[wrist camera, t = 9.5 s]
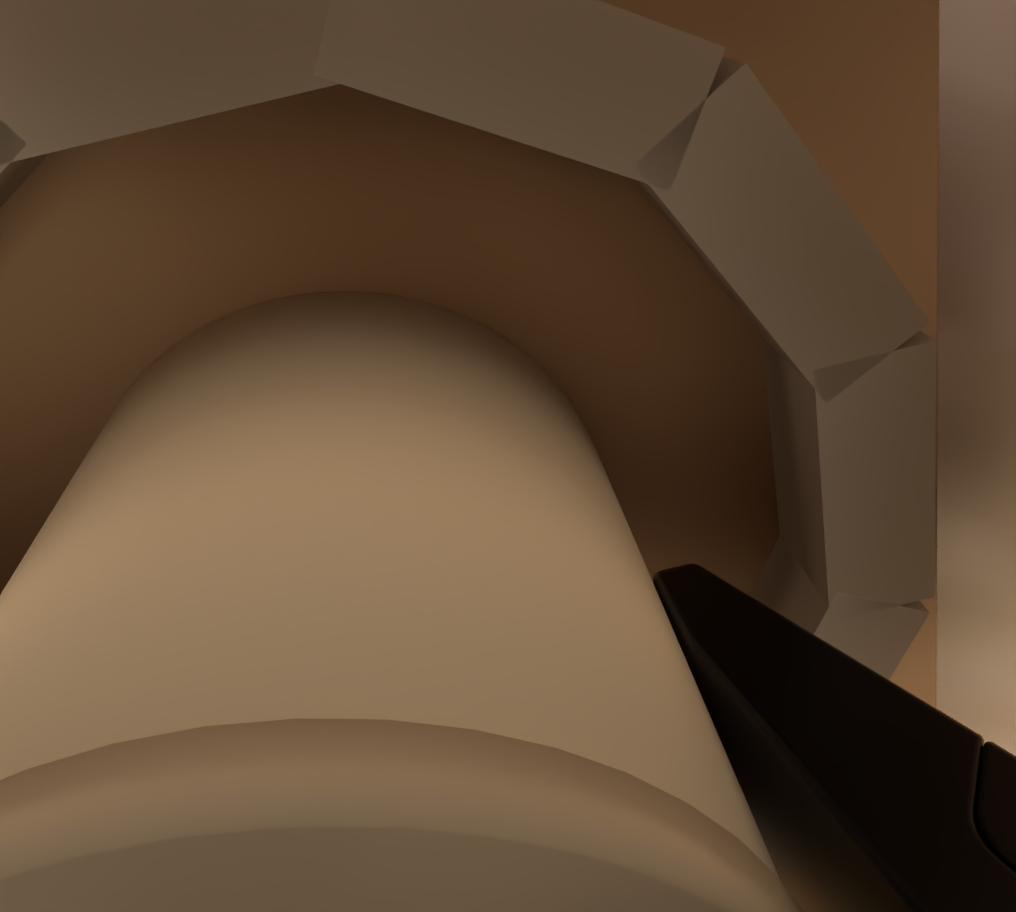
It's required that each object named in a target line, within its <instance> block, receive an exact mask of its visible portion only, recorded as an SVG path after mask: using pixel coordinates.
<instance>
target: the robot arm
mask: <svg viewBox="0 0 1016 912" xmlns="http://www.w3.org/2000/svg"><path fill="white" fill-rule="evenodd" d="M653 584H654V586H655V588H656V591H657V593H658V595H659V598H660V600H661V602H662V605H663V607H664V609H665V612H666V614H667V616H668V619H669V621H670V623H671V626H672V628H673V630H674V633H675V635H676V637H677V640H678V642H679V644H680V647H681V649H682V651H683V654H684V656H685V658H686V661H687V663H688V665H689V668H690V670H691V672H692V675H693V677H694V679H695V682H696V684H697V686H698V689H699V691H700V693H701V696H702V698H703V700H704V703H705V705H706V707H707V710H708V712H709V714H710V717H711V719H712V721H713V724H714V726H715V728H716V731H717V733H718V735H719V738H720V740H721V742H722V745H723V747H724V749H725V752H726V754H727V756H728V759H729V761H730V763H731V766H732V768H733V770H734V773H735V775H736V777H737V780H738V782H739V784H740V787H741V789H742V791H743V794H744V796H745V798H746V801H747V803H748V805H749V808H750V810H751V812H752V815H753V817H754V819H755V822H756V824H757V826H758V829H759V831H760V833H761V836H762V838H763V840H764V843H765V845H766V847H767V850H768V852H769V854H770V857H771V859H772V861H773V864H774V866H775V868H776V871H777V873H778V875H779V878H780V880H781V882H782V883H783V885H784V886H785V888H786V889H787V891H788V892H789V893H790V895H791V896H792V898H793V899H794V900H795V902H796V903H797V905H798V906H799V908H800V909H801V910H802V912H1016V756H1014V755H1013V754H1011V753H1009V752H1008V751H1006V750H1005V749H1003V748H1001V747H1000V746H998V745H996V744H995V743H993V742H986V743H985V744H984V740H983V738H982V736H980V735H979V734H977V733H976V732H974V731H972V730H971V729H969V728H967V727H966V726H964V725H962V724H961V723H959V722H958V721H956V720H954V719H953V718H951V717H949V716H948V715H946V714H944V713H943V712H941V711H939V710H938V709H936V708H934V707H933V706H931V705H929V704H928V703H926V702H924V701H923V700H921V699H920V698H918V697H916V696H915V695H913V694H911V693H910V692H908V691H906V690H905V689H903V688H901V687H900V686H898V685H896V684H895V683H893V682H891V681H890V680H888V679H886V678H885V677H883V676H881V675H880V674H878V673H877V672H875V671H873V670H872V669H870V668H868V667H867V666H865V665H863V664H862V663H860V662H858V661H857V660H855V659H853V658H852V657H850V656H848V655H847V654H845V653H843V652H842V651H840V650H839V649H837V648H835V647H834V646H832V645H830V644H829V643H827V642H825V641H824V640H822V639H820V638H819V637H817V636H815V635H814V634H812V633H810V632H809V631H807V630H805V629H804V628H802V627H801V626H799V625H797V624H796V623H794V622H792V621H791V620H789V619H787V618H786V617H784V616H782V615H781V614H779V613H777V612H776V611H774V610H772V609H771V608H769V607H767V606H766V605H764V604H763V603H761V602H759V601H758V600H756V599H754V598H753V597H751V596H749V595H748V594H746V593H744V592H743V591H741V590H739V589H738V588H736V587H734V586H733V585H731V584H729V583H728V582H726V581H724V580H723V579H721V578H720V577H718V576H716V575H715V574H713V573H711V572H710V571H708V570H706V569H705V568H703V567H701V566H700V565H697V564H693V563H690V564H686V565H681V566H677V567H673V568H669V569H665V570H661V571H658V572H656V573H655V574H654V577H653Z"/></svg>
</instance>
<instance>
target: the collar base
mask: <svg viewBox="0 0 1016 912" xmlns="http://www.w3.org/2000/svg"><path fill="white" fill-rule="evenodd" d="M938 71H939V0H0V595H1V593H2V591H3V590H4V588H5V586H6V585H7V583H8V582H9V580H10V578H11V577H12V575H13V573H14V572H15V570H16V569H17V567H18V565H19V564H20V562H21V560H22V559H23V557H24V556H25V554H26V552H27V551H28V549H29V547H30V546H31V544H32V543H33V541H34V539H35V538H36V536H37V534H38V533H39V531H40V530H41V528H42V526H43V525H44V523H45V521H46V520H47V518H48V517H49V515H50V513H51V512H52V510H53V509H54V507H55V505H56V504H57V502H58V500H59V499H60V497H61V496H62V494H63V492H64V491H65V489H66V487H67V486H68V484H69V483H70V481H71V479H72V478H73V476H74V474H75V473H76V471H77V470H78V468H79V466H80V465H81V463H82V461H83V460H84V458H85V457H86V455H87V453H88V452H89V450H90V448H91V447H92V445H93V444H94V442H95V440H96V439H97V437H98V435H99V434H100V432H101V431H102V429H103V427H104V426H105V424H106V422H107V421H108V419H109V418H110V416H111V414H112V413H113V411H114V410H115V408H116V406H117V405H118V403H119V401H120V400H121V398H122V397H123V395H124V394H125V393H126V391H127V390H128V389H129V388H130V387H131V386H132V384H133V383H134V382H135V381H136V380H137V379H138V377H139V376H140V375H141V374H142V373H143V372H144V370H145V369H146V368H147V367H149V366H150V365H151V364H152V363H153V362H154V361H156V360H157V359H158V358H159V357H160V356H161V355H162V354H164V353H165V352H166V351H167V350H168V349H169V348H171V347H172V346H173V345H175V344H176V343H178V342H179V341H181V340H182V339H184V338H185V337H187V336H189V335H190V334H192V333H193V332H195V331H196V330H198V329H199V328H201V327H203V326H205V325H207V324H209V323H211V322H213V321H215V320H218V319H220V318H222V317H224V316H226V315H228V314H231V313H233V312H235V311H237V310H240V309H244V308H247V307H250V306H253V305H256V304H260V303H263V302H266V301H269V300H273V299H278V298H284V297H289V296H295V295H301V294H307V293H317V292H339V291H356V292H368V293H381V294H390V295H395V296H399V297H404V298H409V299H414V300H419V301H424V302H427V303H430V304H433V305H436V306H439V307H442V308H444V309H447V310H450V311H453V312H456V313H459V314H461V315H463V316H465V317H467V318H469V319H471V320H473V321H475V322H478V323H480V324H482V325H484V326H486V327H488V328H490V329H492V330H493V331H495V332H496V333H498V334H499V335H501V336H502V337H504V338H505V339H507V340H508V341H510V342H511V343H513V344H514V345H516V346H517V347H519V348H520V349H522V350H523V351H524V352H525V353H526V354H527V355H528V356H529V357H531V358H532V359H533V360H534V361H535V362H536V363H537V364H538V365H540V366H541V367H542V368H543V369H544V370H545V371H546V372H547V373H548V374H549V375H550V376H551V377H552V379H553V380H554V381H555V382H556V383H557V385H558V386H559V387H560V388H561V389H562V390H563V392H564V393H565V394H566V395H567V396H568V398H569V399H570V401H571V403H572V404H573V406H574V407H575V409H576V411H577V412H578V414H579V415H580V417H581V419H582V420H583V422H584V423H585V426H586V428H587V430H588V432H589V435H590V437H591V439H592V442H593V444H594V446H595V448H596V451H597V453H598V455H599V458H600V460H601V462H602V465H603V467H604V469H605V472H606V474H607V476H608V479H609V481H610V483H611V486H612V488H613V490H614V493H615V495H616V497H617V500H618V502H619V504H620V507H621V509H622V511H623V514H624V516H625V518H626V521H627V523H628V525H629V528H630V530H631V532H632V535H633V537H634V539H635V542H636V544H637V546H638V549H639V551H640V553H641V556H642V558H643V560H644V563H645V565H646V567H647V570H648V572H649V574H650V577H651V579H652V581H653V577H654V574H655V573H656V572H658V571H661V570H665V569H669V568H673V567H677V566H681V565H686V564H690V563H693V564H697V565H700V566H701V567H703V568H705V569H706V570H708V571H710V572H711V573H713V574H715V575H716V576H718V577H720V578H721V579H723V580H724V581H726V582H728V583H729V584H731V585H733V586H734V587H736V588H738V589H739V590H741V591H743V592H744V593H746V594H748V595H749V596H751V597H753V598H754V599H756V600H758V601H759V602H761V603H763V604H764V605H766V606H767V607H769V608H771V609H772V610H774V611H776V612H777V613H779V614H781V615H782V616H784V617H786V618H787V619H789V620H791V621H792V622H794V623H796V624H797V625H799V626H801V627H802V628H804V629H805V630H807V631H809V632H810V633H812V634H814V635H815V636H817V637H819V638H820V639H822V640H824V641H825V642H827V643H829V644H830V645H832V646H834V647H835V648H837V649H839V650H840V651H842V652H843V653H845V654H847V655H848V656H850V657H852V658H853V659H855V660H857V661H858V662H860V663H862V664H863V665H865V666H867V667H868V668H870V669H872V670H873V671H875V672H877V673H878V674H880V675H881V676H883V677H885V678H886V679H888V680H890V681H891V682H893V683H895V684H896V685H898V686H900V687H901V688H903V689H905V690H906V691H908V692H910V693H911V694H913V695H915V696H916V697H918V698H920V699H921V700H923V701H924V702H926V703H928V704H929V705H931V706H933V707H934V708H936V610H937V341H938Z"/></svg>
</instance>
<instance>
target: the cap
mask: <svg viewBox="0 0 1016 912" xmlns="http://www.w3.org/2000/svg"><path fill="white" fill-rule="evenodd" d="M0 912H802V910H801V909H800V908H799V906H798V905H797V903H796V902H795V900H794V899H793V898H792V896H791V895H790V893H789V892H788V891H787V889H786V888H785V886H784V885H783V883H782V882H781V880H780V878H779V875H778V873H777V871H776V868H775V866H774V864H773V861H772V859H771V857H770V854H769V852H768V850H767V847H766V845H765V843H764V840H763V838H762V836H761V833H760V831H759V829H758V826H757V824H756V822H755V819H754V817H753V815H752V812H751V810H750V808H749V805H748V803H747V801H746V798H745V796H744V794H743V791H742V789H741V787H740V784H739V782H738V780H737V777H736V775H735V773H734V770H733V768H732V766H731V763H730V761H729V759H728V756H727V754H726V752H725V749H724V747H723V745H722V742H721V740H720V738H719V735H718V733H717V731H716V728H715V726H714V724H713V721H712V719H711V717H710V714H709V712H708V710H707V707H706V705H705V703H704V700H703V698H702V696H701V693H700V691H699V689H698V686H697V684H696V682H695V679H694V677H693V675H692V672H691V670H690V668H689V665H688V663H687V661H686V658H685V656H684V654H683V651H682V649H681V647H680V644H679V642H678V640H677V637H676V635H675V633H674V630H673V628H672V626H671V623H670V621H669V619H668V616H667V614H666V612H665V609H664V607H663V605H662V602H661V600H660V598H659V595H658V593H657V591H656V588H655V586H654V584H653V581H652V579H651V577H650V574H649V572H648V570H647V567H646V565H645V563H644V560H643V558H642V556H641V553H640V551H639V549H638V546H637V544H636V542H635V539H634V537H633V535H632V532H631V530H630V528H629V525H628V523H627V521H626V518H625V516H624V514H623V511H622V509H621V507H620V504H619V502H618V500H617V497H616V495H615V493H614V490H613V488H612V486H611V483H610V481H609V479H608V476H607V474H606V472H605V469H604V467H603V465H602V462H601V460H600V458H599V455H598V453H597V451H596V448H595V446H594V444H593V442H592V439H591V437H590V435H589V432H588V430H587V428H586V426H585V423H584V422H583V420H582V419H581V417H580V415H579V414H578V412H577V411H576V409H575V407H574V406H573V404H572V403H571V401H570V399H569V398H568V396H567V395H566V394H565V393H564V392H563V390H562V389H561V388H560V387H559V386H558V385H557V383H556V382H555V381H554V380H553V379H552V377H551V376H550V375H549V374H548V373H547V372H546V371H545V370H544V369H543V368H542V367H541V366H540V365H538V364H537V363H536V362H535V361H534V360H533V359H532V358H531V357H529V356H528V355H527V354H526V353H525V352H524V351H523V350H522V349H520V348H519V347H517V346H516V345H514V344H513V343H511V342H510V341H508V340H507V339H505V338H504V337H502V336H501V335H499V334H498V333H496V332H495V331H493V330H492V329H490V328H488V327H486V326H484V325H482V324H480V323H478V322H475V321H473V320H471V319H469V318H467V317H465V316H463V315H461V314H459V313H456V312H453V311H450V310H447V309H444V308H442V307H439V306H436V305H433V304H430V303H427V302H424V301H419V300H414V299H409V298H404V297H399V296H395V295H390V294H381V293H368V292H356V291H339V292H317V293H307V294H301V295H295V296H289V297H284V298H278V299H273V300H269V301H266V302H263V303H260V304H256V305H253V306H250V307H247V308H244V309H240V310H237V311H235V312H233V313H231V314H228V315H226V316H224V317H222V318H220V319H218V320H215V321H213V322H211V323H209V324H207V325H205V326H203V327H201V328H199V329H198V330H196V331H195V332H193V333H192V334H190V335H189V336H187V337H185V338H184V339H182V340H181V341H179V342H178V343H176V344H175V345H173V346H172V347H171V348H169V349H168V350H167V351H166V352H165V353H164V354H162V355H161V356H160V357H159V358H158V359H157V360H156V361H154V362H153V363H152V364H151V365H150V366H149V367H147V368H146V369H145V370H144V372H143V373H142V374H141V375H140V376H139V377H138V379H137V380H136V381H135V382H134V383H133V384H132V386H131V387H130V388H129V389H128V390H127V391H126V393H125V394H124V395H123V397H122V398H121V400H120V401H119V403H118V405H117V406H116V408H115V410H114V411H113V413H112V414H111V416H110V418H109V419H108V421H107V422H106V424H105V426H104V427H103V429H102V431H101V432H100V434H99V435H98V437H97V439H96V440H95V442H94V444H93V445H92V447H91V448H90V450H89V452H88V453H87V455H86V457H85V458H84V460H83V461H82V463H81V465H80V466H79V468H78V470H77V471H76V473H75V474H74V476H73V478H72V479H71V481H70V483H69V484H68V486H67V487H66V489H65V491H64V492H63V494H62V496H61V497H60V499H59V500H58V502H57V504H56V505H55V507H54V509H53V510H52V512H51V513H50V515H49V517H48V518H47V520H46V521H45V523H44V525H43V526H42V528H41V530H40V531H39V533H38V534H37V536H36V538H35V539H34V541H33V543H32V544H31V546H30V547H29V549H28V551H27V552H26V554H25V556H24V557H23V559H22V560H21V562H20V564H19V565H18V567H17V569H16V570H15V572H14V573H13V575H12V577H11V578H10V580H9V582H8V583H7V585H6V586H5V588H4V590H3V591H2V593H1V595H0Z"/></svg>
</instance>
